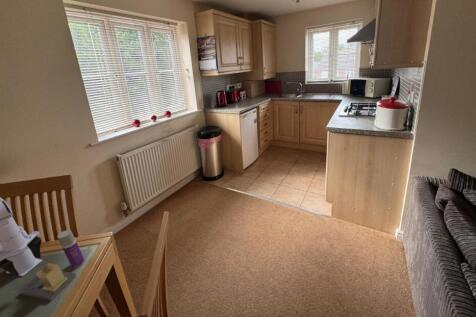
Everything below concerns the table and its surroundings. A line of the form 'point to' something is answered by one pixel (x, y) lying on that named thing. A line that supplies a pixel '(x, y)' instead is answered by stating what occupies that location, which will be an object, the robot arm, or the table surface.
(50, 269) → the tan rectangular block
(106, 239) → the table surface
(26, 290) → the rail plate
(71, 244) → the container
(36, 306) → the table surface
